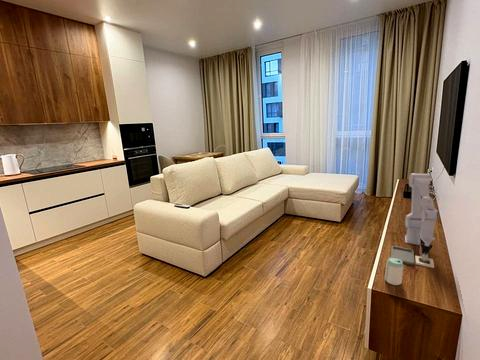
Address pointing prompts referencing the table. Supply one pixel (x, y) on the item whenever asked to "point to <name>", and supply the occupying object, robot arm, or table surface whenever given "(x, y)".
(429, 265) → the square frame with handle
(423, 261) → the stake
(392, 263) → the can
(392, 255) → the tray
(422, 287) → the table surface
